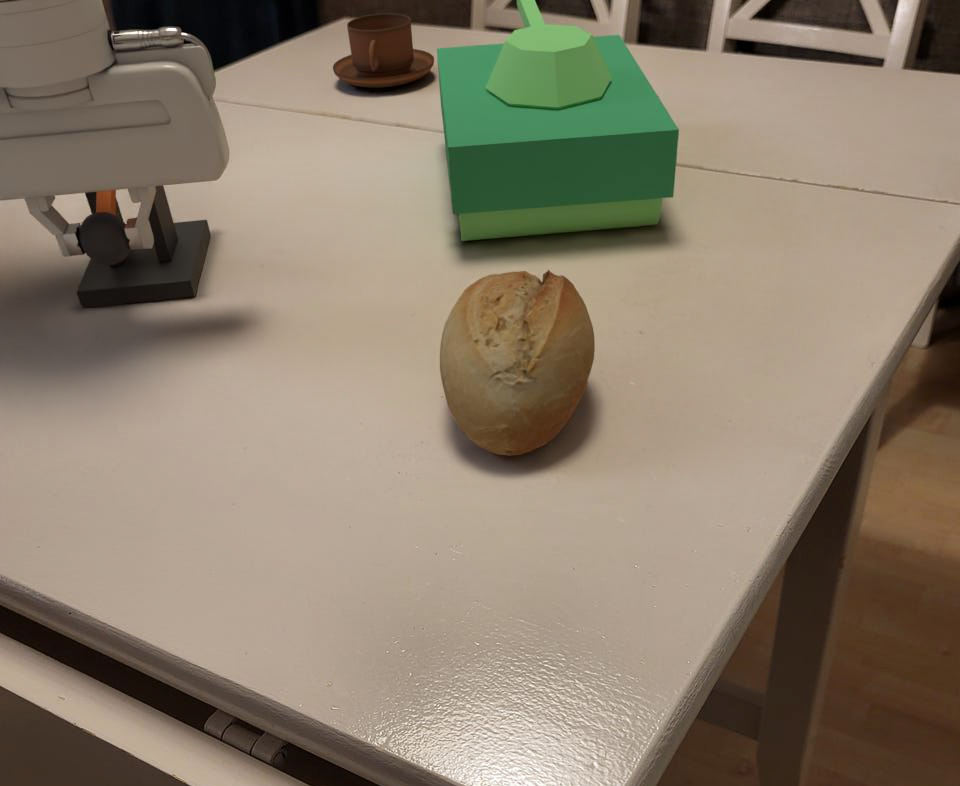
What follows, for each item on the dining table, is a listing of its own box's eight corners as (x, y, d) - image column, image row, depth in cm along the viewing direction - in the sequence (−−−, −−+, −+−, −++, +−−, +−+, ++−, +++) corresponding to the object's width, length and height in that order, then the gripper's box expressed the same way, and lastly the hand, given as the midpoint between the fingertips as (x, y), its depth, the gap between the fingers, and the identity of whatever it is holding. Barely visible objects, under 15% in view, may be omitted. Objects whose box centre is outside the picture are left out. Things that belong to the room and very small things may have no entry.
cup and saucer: (444, 88, 112) (440, 27, 108) (342, 101, 111) (333, 41, 106) (425, 60, 121) (420, 3, 117) (329, 73, 119) (321, 15, 115)
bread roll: (586, 341, 69) (589, 229, 63) (599, 466, 58) (604, 345, 52) (451, 346, 69) (441, 236, 64) (439, 471, 58) (426, 351, 53)
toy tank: (607, -29, 97) (683, 76, 71) (603, 104, 105) (669, 239, 80) (431, -16, 96) (444, 93, 71) (440, 116, 105) (455, 256, 80)
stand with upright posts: (195, 296, 77) (147, 126, 68) (81, 307, 77) (18, 138, 68) (210, 234, 86) (170, 76, 77) (108, 244, 86) (56, 86, 77)
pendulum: (138, 272, 72) (121, 239, 68) (89, 277, 72) (70, 244, 68) (139, 132, 76) (122, 94, 73) (92, 136, 76) (74, 99, 72)
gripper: (208, 11, 64) (254, 219, 74) (-105, 38, 64) (-18, 244, 73) (197, 36, 60) (247, 254, 69) (-140, 66, 59) (-42, 282, 69)
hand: (109, 249), depth 71 cm, fingers closed on pendulum, 3 cm apart
